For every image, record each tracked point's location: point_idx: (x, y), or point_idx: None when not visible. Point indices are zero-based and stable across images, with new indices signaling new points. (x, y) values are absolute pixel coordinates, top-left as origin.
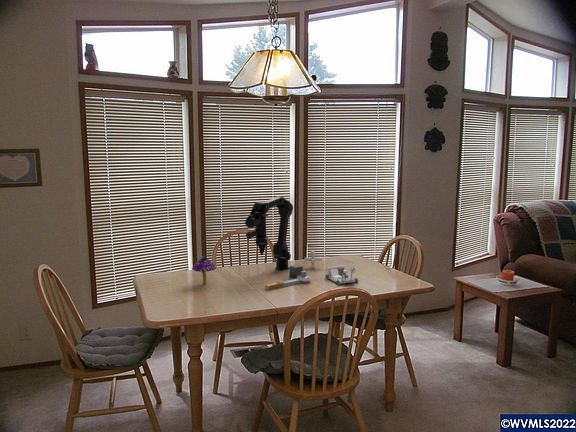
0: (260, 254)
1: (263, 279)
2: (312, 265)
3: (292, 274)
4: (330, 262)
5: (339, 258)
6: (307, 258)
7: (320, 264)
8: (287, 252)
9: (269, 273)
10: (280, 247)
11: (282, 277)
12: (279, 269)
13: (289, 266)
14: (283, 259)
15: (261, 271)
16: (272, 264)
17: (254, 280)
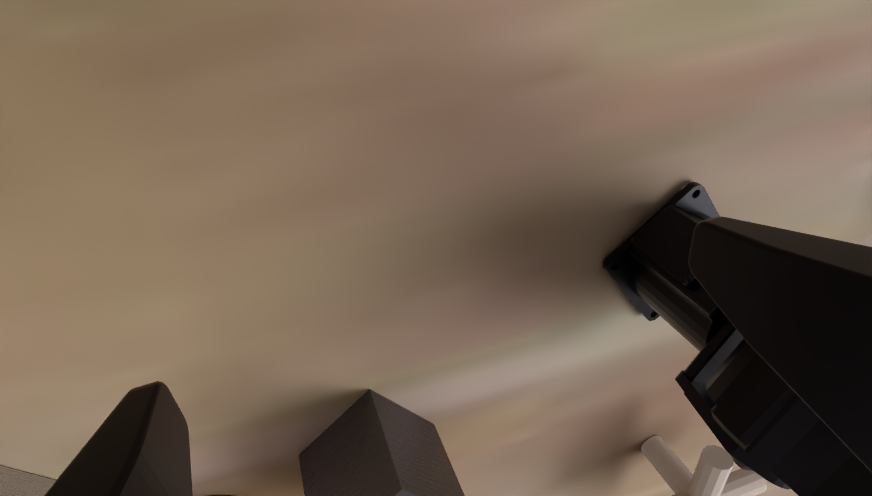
0: (121, 401)
1: (165, 153)
2: (655, 462)
3: (339, 450)
4: None
5: None
6: (710, 486)
7: None
8: (745, 469)
9: (498, 163)
10: (844, 477)
11: (325, 343)
12: (629, 241)
13: (397, 487)
14: (703, 348)
15: (603, 35)
16: (858, 112)
17: (41, 11)
